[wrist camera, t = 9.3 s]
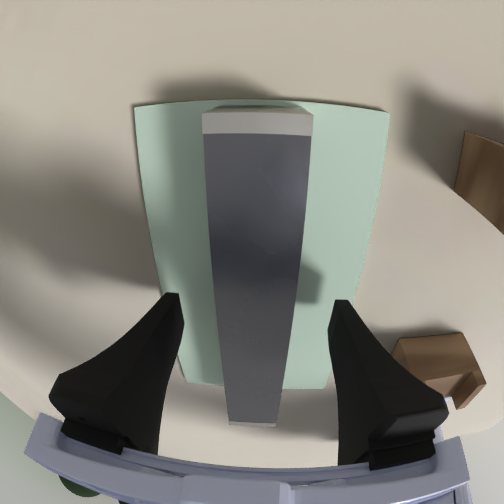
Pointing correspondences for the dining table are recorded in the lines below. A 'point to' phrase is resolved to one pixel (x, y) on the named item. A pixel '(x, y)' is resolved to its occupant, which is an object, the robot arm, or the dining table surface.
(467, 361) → the post
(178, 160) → the mat
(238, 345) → the rail
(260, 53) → the dining table surface
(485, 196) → the post
